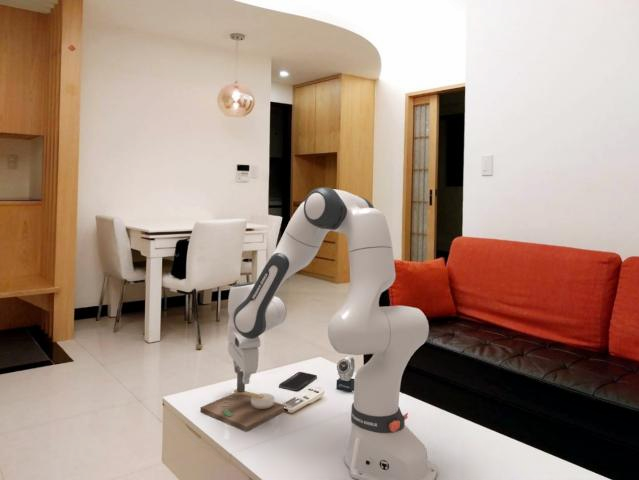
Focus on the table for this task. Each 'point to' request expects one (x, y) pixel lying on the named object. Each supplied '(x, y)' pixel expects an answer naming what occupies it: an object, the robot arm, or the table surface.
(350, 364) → the watch
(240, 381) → the dial knob with pointer
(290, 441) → the table surface
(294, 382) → the phone
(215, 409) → the gauge panel
